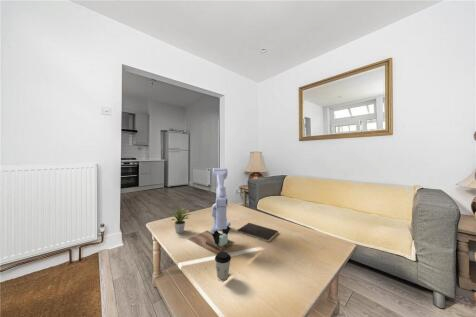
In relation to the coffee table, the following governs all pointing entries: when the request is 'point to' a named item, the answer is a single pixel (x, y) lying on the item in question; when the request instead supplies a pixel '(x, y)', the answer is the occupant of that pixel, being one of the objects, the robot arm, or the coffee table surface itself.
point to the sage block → (222, 240)
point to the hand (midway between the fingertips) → (220, 241)
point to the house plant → (180, 220)
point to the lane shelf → (209, 242)
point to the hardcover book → (258, 232)
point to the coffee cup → (222, 265)
